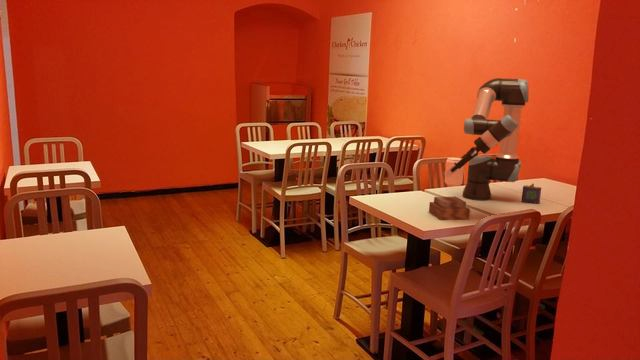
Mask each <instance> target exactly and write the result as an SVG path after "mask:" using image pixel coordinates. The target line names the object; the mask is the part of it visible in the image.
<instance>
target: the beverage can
mask: <svg viewBox="0 0 640 360" xmlns="http://www.w3.org/2000/svg"><path fill="white" fill-rule="evenodd" d="M461 159H462V158H461V157H447V159H446V161H445V170H446V171H447V170H449V169H450V168H451V167H452V166H454V165H455V164H454V163H458V162H459V161H460V160H461ZM464 167H465V165H464V166H462V167H461V168H460V169H458V170H457V171H456V172H455V173H453V174H452V175H451V176H450V177H448V178H447V177H446V175H445V174H444V183H445V184H446V185H448V186H460V185H462V184H463V179H464ZM446 171H444V173H445V172H446Z"/></svg>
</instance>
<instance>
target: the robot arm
mask: <svg viewBox="0 0 640 360" xmlns="http://www.w3.org/2000/svg"><path fill="white" fill-rule="evenodd" d="M529 95H530V94H529V81H528V80H527V79H524V78H523V79H522V78H501V77H499V78H498V77H496V78H493V79H489V80H487V81H486V82H485V83H483V84H482V85H480V87H479V88H478V90H477V92H476V102H475V106H474V108H473V111H472V114H471V117H469V118H467V117H466V118H465V119H464V123H463V133H464V134H466V135H472V136H474V135H475V136H478V137H477V138H476V139H475V140H474V141H473V143H474V145H475V146H472V147H471V148H470V149H469V150H467V152H466V153H465V154H463V155H462V156H461V157H460V158H462V159H461V160H460V161H459V162H458V163H454V164H455V165H454V166H452V167H451V168H450V169H449V170H447V171H446V169H445V171H446V172H445V171H444V173H443V174H444V176H445V175H446V177H447V178H448V177H450V176H451V175H452V174H453V173H455V172H456V171H457V170H458V169H460V168H461V167H462V166H464V167H465V165H466V164H467V163H468V165H467V166H468V169H467V177H466V178H467V179H466V183H465V186H464V188H463V190H462V197H463V198H465V199H469V200H474V201H489V200H491V199H492V192H491V188H490V181H498V182H506V183H515V182H516V181H517V180H518V177H519V174H520V169H521V165H522V161H521V160H520V157H519V155H517V150H518V143H519V135H520V132H519V131H520V125H521V124H520V123H521V118H522V117H521V116H522V115H521V114H522V110H523V108H524V107H525V106H526V103H529V97H530V96H529ZM495 101H498V102H501V106H502V107H503V115H502V116H503V117H501V118H500V119H499V120H498V119H489V114H490V112H491V108H492V104H493V103H494V102H495ZM498 144H499V151H498V153H497V154H496V155H495V158H493V156H492V155H489V154H487V153H488V152H489V151H490V150H491V149H493V148H494V147H495V146H496V147H497V146H498ZM479 152H481V153H482V154H479Z"/></svg>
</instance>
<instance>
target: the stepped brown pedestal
mask: <svg viewBox="0 0 640 360" xmlns="http://www.w3.org/2000/svg"><path fill="white" fill-rule="evenodd" d="M433 197H434V198H433V201H429V205H428V207H429V208H428V213H429V214H431V215H433V216H434V217H436V218H437V219H439V220H440V221H454V220H455V221H459V220H464V221H465V220H470V216H471V215H470V213H471V208H469V207H467V201H465V200H463V199H461V198H459V197H458V196H453V195H451V196H433Z"/></svg>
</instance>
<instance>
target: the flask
mask: <svg viewBox="0 0 640 360" xmlns="http://www.w3.org/2000/svg"><path fill="white" fill-rule="evenodd" d="M541 194H542V187H540V186H535V183H533V182H532V183H531V184H530V185H529V184H526V185H523V186H522V194H521V203H522V204H523V203H524V204H532V205H533V204H534V205H540V202H541Z"/></svg>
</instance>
